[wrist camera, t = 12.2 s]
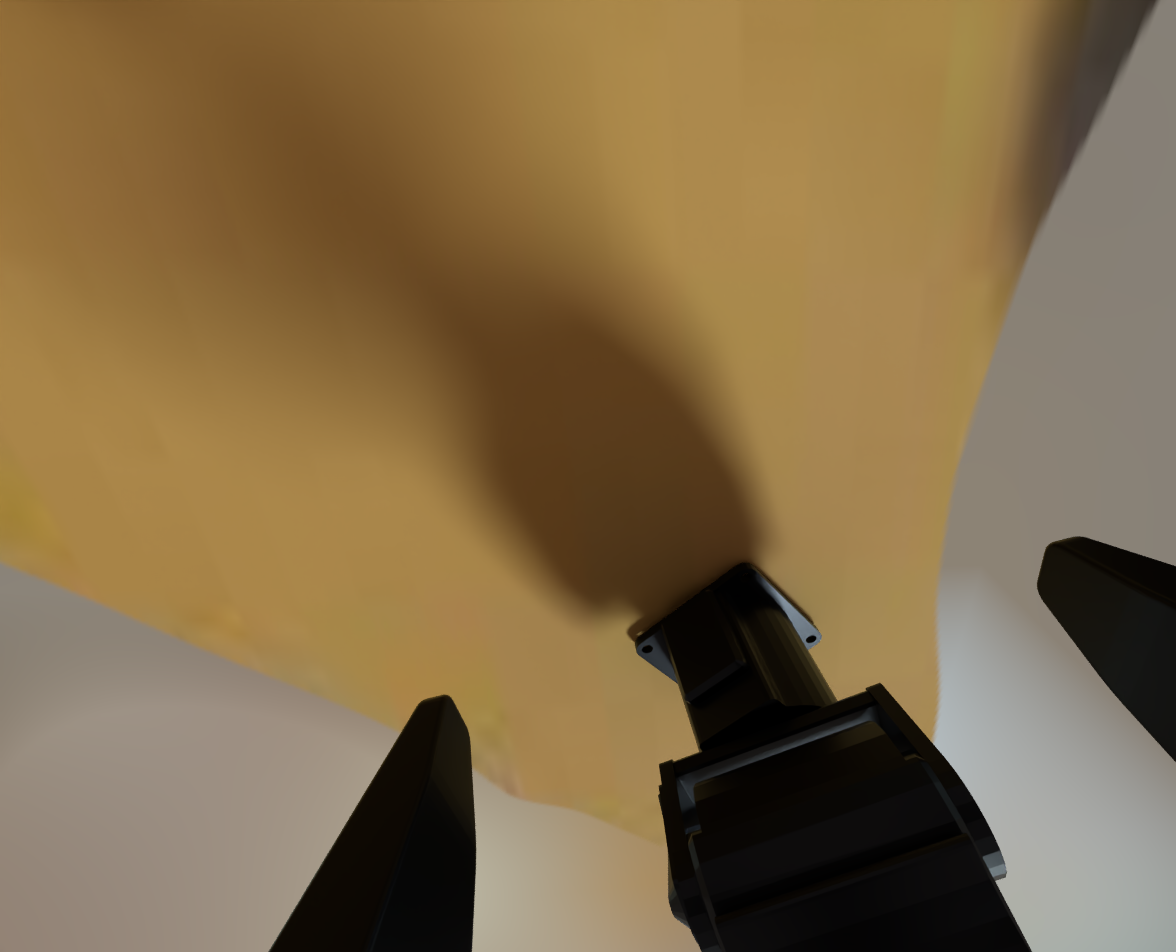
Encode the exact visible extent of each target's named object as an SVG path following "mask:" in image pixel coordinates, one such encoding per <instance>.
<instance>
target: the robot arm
mask: <svg viewBox="0 0 1176 952" xmlns="http://www.w3.org/2000/svg"><path fill="white" fill-rule="evenodd" d="M745 573H748V574H747V575H745V576H742V575H743V574H745ZM1037 589H1038V592H1039V595H1040V596H1041V599H1042V600H1043V602H1044V603H1045V604H1046V606H1047V607H1048V608H1049V610H1050V611H1051V612H1052V614H1053V615H1054V616H1055V617H1056V619H1057V620H1058V622H1059V623H1060V624H1061V626H1062V627H1063V628H1064V630H1065V631H1066V632H1067V634H1068V635H1069V636H1070V638H1071V639H1072V640H1073V641H1074V643H1075V644H1076V645H1077V647H1078V648H1079V649H1080V651H1081V652H1082V653H1083V655H1084V656H1085V657H1086V659H1087V660H1088V661H1089V663H1090V664H1091V665H1092V667H1093V668H1094V669H1095V670H1096V672H1097V673H1098V675H1099V676H1100V677H1101V678H1102V680H1103V681H1104V682H1105V683H1106V685H1107V686H1108V687H1109V688H1110V690H1111V691H1112V692H1113V693H1114V694H1115V696H1116V697H1117V698H1118V699H1119V700H1120V701H1121V702H1122V704H1123V705H1124V706H1125V707H1126V708H1127V709H1128V710H1129V711H1130V712H1131V714H1132V715H1133V716H1134V717H1135V718H1136V719H1137V720H1138V721H1139V722H1140V723H1141V724H1142V725H1143V727H1144V728H1145V729H1146V730H1147V731H1148V732H1149V733H1150V734H1151V736H1152V737H1153V738H1154V739H1155V740H1156V741H1157V742H1158V743H1159V744H1160V745H1161V746H1162V748H1163V749H1164V750H1165V751H1166V752H1167V753H1168V754H1169V755H1170V756H1171V757H1172V759H1173V760H1174V761H1175V762H1176V566H1174V565H1170V564H1167V563H1164V562H1161V561H1158V560H1155V559H1152V558H1149V557H1145V556H1142V555H1139V554H1136V553H1133V552H1130V551H1127V550H1124V549H1120V548H1117V547H1114V546H1111V545H1108V544H1105V543H1102V542H1099V541H1095V540H1092V539H1089V538H1086V537H1080V536H1079V537H1071V538H1067V539H1063V540H1059V541H1055V542H1052V543H1050V544H1049V545H1048V546H1047V547H1046V549H1045V553H1044V556H1043V560H1042V565H1041V569H1040V572H1039V577H1038V581H1037ZM821 637H822V636H821V634H820V632H819V631H818V629H817V627H816V626H815V625H814V624H813V623H812V622H811V621H810V620H809V619H808V618H807V617H805V616H804V615H803V614H802V613H801V612H800V611H799V610H798V609H797V608H796V607H795V606H794V605H793V604H792V603H791V602H790V601H789V600H788V599H787V598H786V597H785V596H784V595H783V594H782V593H781V592H780V591H779V590H778V589H777V588H776V587H775V586H774V585H773V584H772V583H771V582H770V581H768V580H767V579H766V578H765V577H764V576H763V575H762V574H761V573H760V572H759V571H758V570H757V569H756V568H755V567H754V566H753V565H752V564H750V563H740V564H739V565H737V566H735V567H734V568H733V569H731V570H730V571H728V572H727V573H726V574H724V575H723V576H722V577H720V578H719V579H718V580H716V581H715V582H713V583H712V584H711V585H709V586H708V587H707V588H705V589H704V590H703V591H701V592H700V593H698V594H697V595H696V596H694V597H693V598H692V599H690V600H689V601H688V602H686V603H685V604H683V605H682V606H681V607H679V608H678V609H677V610H675V611H674V612H673V613H671V614H670V615H668V616H667V617H666V618H664V619H663V620H662V621H660V622H659V623H658V624H656V625H655V626H653V627H652V628H651V629H649V630H648V631H647V632H645V633H644V634H643V635H641V636H640V637H638V639H637V640H636V641H635V647H636V651H637V654H638V655H639V656H641V657H642V658H643V659H645V660H646V661H647V662H649V663H650V664H651V665H653V666H654V667H656V668H657V669H658V670H660V671H661V672H662V673H664V674H665V675H666V676H668V677H669V678H671V679H672V680H673V681H675V682H676V683H677V684H678V686H679V689H680V692H681V695H682V698H683V701H684V705H685V708H686V711H687V714H688V717H689V720H690V724H691V727H692V730H693V733H694V736H695V739H696V743H697V746H698V749H699V752H698V753H696V754H693V755H690V756H687V757H685V758H682V759H679V760H677V761H673V759H672V760H669V761H666V762H664V763H661V764H659V768H660V775H661V782H662V785H659V791H660V794H659V795H658V797H659V802H660V806H661V810H662V815H663V819H664V826H665V833H666V840H667V847H668V898H669V904H670V907H671V911H672V913H673V915H674V917H675V918H676V919H677V920H679V921H680V922H681V923H683V924H684V925H686V926H687V927H688V928H690V929H691V932H692V934H693V936H694V938H695V940H696V942H697V943H698V944H699V946H700V949H701V951H702V952H1032V951H1031V949H1030V947H1029V945H1028V943H1027V941H1026V939H1025V937H1024V936H1023V934H1022V932H1021V930H1020V928H1019V926H1018V924H1017V922H1016V920H1015V918H1014V917H1013V915H1012V913H1011V911H1010V909H1009V907H1008V905H1007V903H1006V901H1005V900H1004V897H1003V896H1002V893H1001V892H1000V890H999V888H998V886H997V884H996V882H995V881H996V880H999V879H1002V878H1005V877H1006V873H1007V871H1006V866H1005V862H1004V859H1003V856H1002V854H1001V851H1000V848H999V846H998V844H997V842H996V840H995V837H994V835H993V833H992V831H991V829H990V827H989V825H988V823H987V822H986V819H985V818H984V816H983V814H982V812H981V811H980V809H979V807H978V805H977V804H976V802H975V800H974V799H973V797H972V796H971V794H970V792H969V791H968V789H967V788H966V786H965V784H964V783H963V782H962V780H961V779H960V777H959V776H958V774H957V773H956V772H955V770H954V769H953V768H952V766H951V765H950V764H949V762H948V761H947V760H946V759H945V757H944V756H943V755H942V754H941V753H940V752H939V750H938V749H937V748H936V747H935V746H934V745H933V743H932V742H931V741H930V740H929V739H928V738H927V736H926V735H925V734H924V733H923V732H922V731H921V729H920V728H919V727H918V726H917V725H916V724H915V722H914V721H913V720H912V719H911V718H910V717H909V715H908V714H907V713H906V712H905V711H904V710H903V708H902V707H901V706H900V705H899V704H898V703H897V701H896V700H895V699H894V698H893V697H892V696H891V694H890V693H889V692H888V691H887V690H886V689H885V687H884V686H883V685H882V684H881V683H878V684H875V685H873V686H870V687H867V688H866V691H864V692H861V693H859V694H856V695H853V696H851V697H848V698H845V699H842V700H840V701H837V699H836V697H835V696H834V694H833V692H832V691H831V689H830V687H829V685H828V684H827V682H826V680H825V679H824V677H823V675H822V673H821V672H820V670H819V668H818V667H817V665H816V663H815V661H814V660H813V658H812V656H811V655H810V653H809V651H808V650H809V649H810V648H812V647H813V646H815V645H816V644H817V643H819V642H820V640H821ZM646 645H649V646H646ZM644 646H646V647H644ZM475 875H476V831H475V814H474V797H473V780H472V762H471V745H470V737H469V732H468V729H467V726H466V724H465V723H464V721H463V719H462V717H461V715H460V713H459V711H458V709H457V707H456V705H455V703H454V702H453V700H452V698H451V697H450V696H449V695H440V696H436V697H432V698H428V699H425V700H423V701H421V702H420V703H419V704H418V706H417V707H416V709H415V710H414V712H413V714H412V715H411V717H410V719H409V720H408V722H407V724H406V725H405V727H404V729H403V730H402V732H401V734H400V735H399V737H398V739H397V740H396V742H395V743H394V745H393V747H392V749H391V750H390V752H389V753H388V755H387V757H386V758H385V760H384V762H383V763H382V765H381V767H380V769H379V770H378V772H377V773H376V775H375V777H374V778H373V780H372V781H371V783H370V785H369V786H368V788H367V790H366V791H365V793H364V795H363V796H362V798H361V800H360V801H359V803H358V805H357V806H356V808H355V810H354V811H353V813H352V815H351V816H350V818H349V820H348V821H347V823H346V825H345V826H344V828H343V829H342V831H341V833H340V834H339V836H338V838H337V840H336V841H335V843H334V845H333V846H332V848H331V850H330V851H329V853H328V854H327V856H326V858H325V859H324V861H323V863H322V864H321V866H320V868H319V869H318V871H317V873H316V874H315V876H314V877H313V879H312V881H311V882H310V884H309V886H308V887H307V889H306V891H305V892H304V894H303V896H302V897H301V899H300V901H299V902H298V904H297V906H296V907H295V909H294V911H293V912H292V914H291V915H290V917H289V919H288V920H287V922H286V924H285V925H284V927H283V929H282V931H281V932H280V934H279V935H278V937H277V939H276V941H275V942H274V944H273V945H272V947H271V949H270V950H269V952H472V939H473V918H474V895H475Z"/></svg>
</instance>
